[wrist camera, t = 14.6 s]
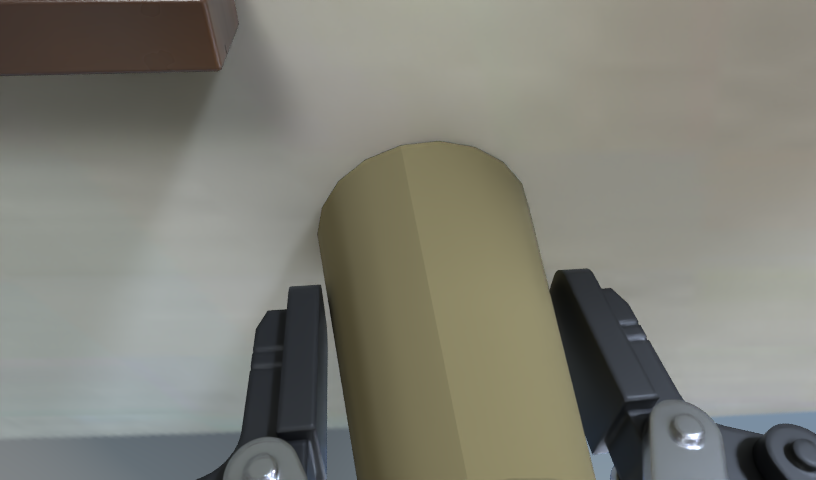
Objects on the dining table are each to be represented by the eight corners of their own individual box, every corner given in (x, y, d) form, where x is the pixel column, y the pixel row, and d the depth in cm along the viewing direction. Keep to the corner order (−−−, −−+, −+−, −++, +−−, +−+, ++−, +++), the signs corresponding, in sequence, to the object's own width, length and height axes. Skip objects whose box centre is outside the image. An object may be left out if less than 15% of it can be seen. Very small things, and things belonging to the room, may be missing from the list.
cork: (503, 301, 17) (662, 784, 9) (320, 305, 16) (306, 847, 8) (555, 143, 13) (943, 770, 5) (313, 138, 12) (270, 900, 4)
